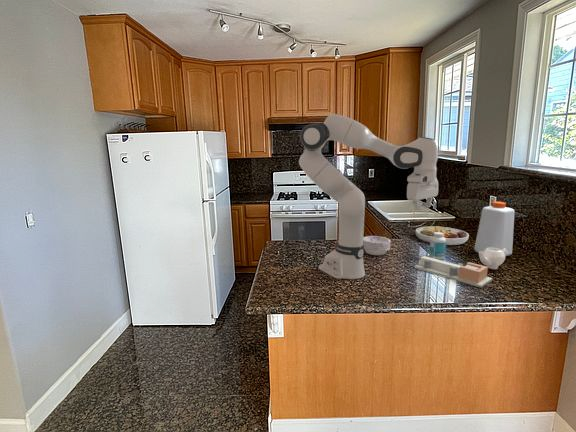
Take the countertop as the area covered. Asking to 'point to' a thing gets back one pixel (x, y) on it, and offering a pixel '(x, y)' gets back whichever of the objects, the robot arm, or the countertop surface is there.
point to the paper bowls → (376, 245)
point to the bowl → (450, 234)
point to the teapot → (492, 257)
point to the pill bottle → (437, 246)
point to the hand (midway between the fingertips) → (422, 208)
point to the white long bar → (443, 264)
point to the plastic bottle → (496, 228)
